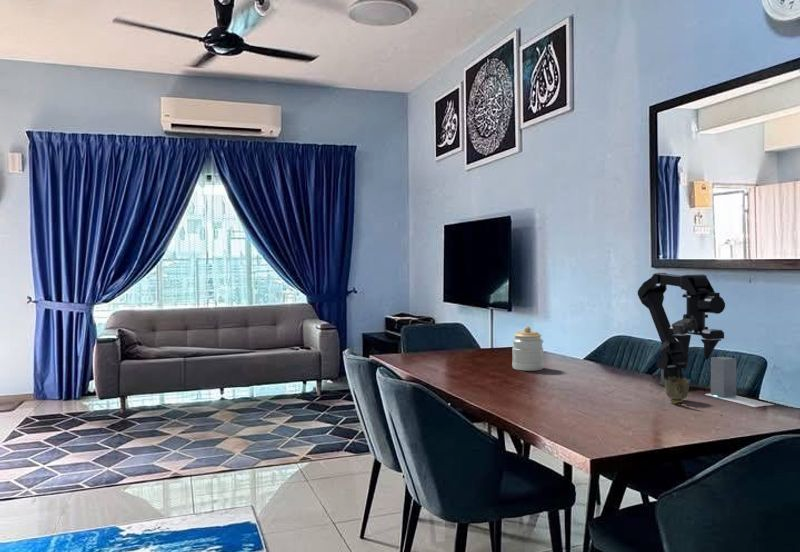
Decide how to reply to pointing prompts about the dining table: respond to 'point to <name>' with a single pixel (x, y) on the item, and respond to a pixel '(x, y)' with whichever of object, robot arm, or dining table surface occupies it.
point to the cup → (676, 389)
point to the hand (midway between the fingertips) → (695, 357)
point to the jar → (527, 351)
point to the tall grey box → (723, 376)
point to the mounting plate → (745, 401)
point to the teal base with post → (724, 397)
